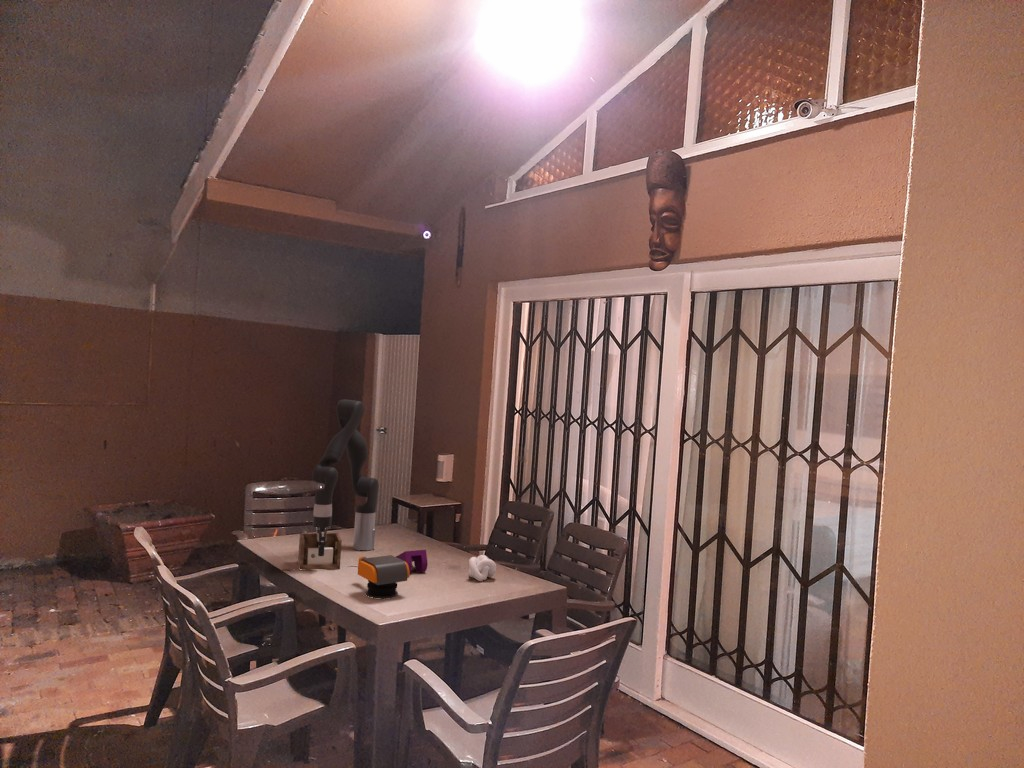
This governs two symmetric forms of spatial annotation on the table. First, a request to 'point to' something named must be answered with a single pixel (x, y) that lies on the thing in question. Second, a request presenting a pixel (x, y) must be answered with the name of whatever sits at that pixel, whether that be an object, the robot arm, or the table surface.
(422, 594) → the table surface
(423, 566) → the mounting bracket
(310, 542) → the cabinet
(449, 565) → the table surface
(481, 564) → the white knot
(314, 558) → the door
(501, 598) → the table surface
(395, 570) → the sander
